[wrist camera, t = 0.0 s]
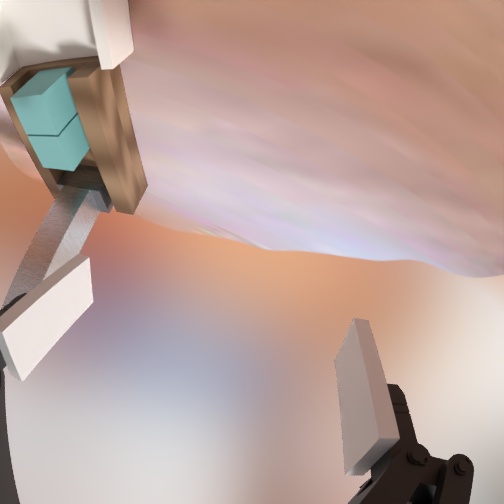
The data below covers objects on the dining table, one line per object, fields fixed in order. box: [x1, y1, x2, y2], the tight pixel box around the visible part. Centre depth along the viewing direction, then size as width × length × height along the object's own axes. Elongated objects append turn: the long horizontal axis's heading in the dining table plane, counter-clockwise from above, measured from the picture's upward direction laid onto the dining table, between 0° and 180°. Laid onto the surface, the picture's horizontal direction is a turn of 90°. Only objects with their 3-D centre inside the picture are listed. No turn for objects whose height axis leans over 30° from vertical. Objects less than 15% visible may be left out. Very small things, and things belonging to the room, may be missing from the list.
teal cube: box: [10, 67, 77, 135], centre depth 18 cm, size 4×4×4 cm
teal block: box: [27, 112, 90, 171], centre depth 22 cm, size 4×4×4 cm
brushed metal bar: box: [2, 164, 114, 309], centre depth 25 cm, size 4×6×17 cm, turn 86°
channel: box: [0, 56, 148, 215], centre depth 24 cm, size 16×11×4 cm
